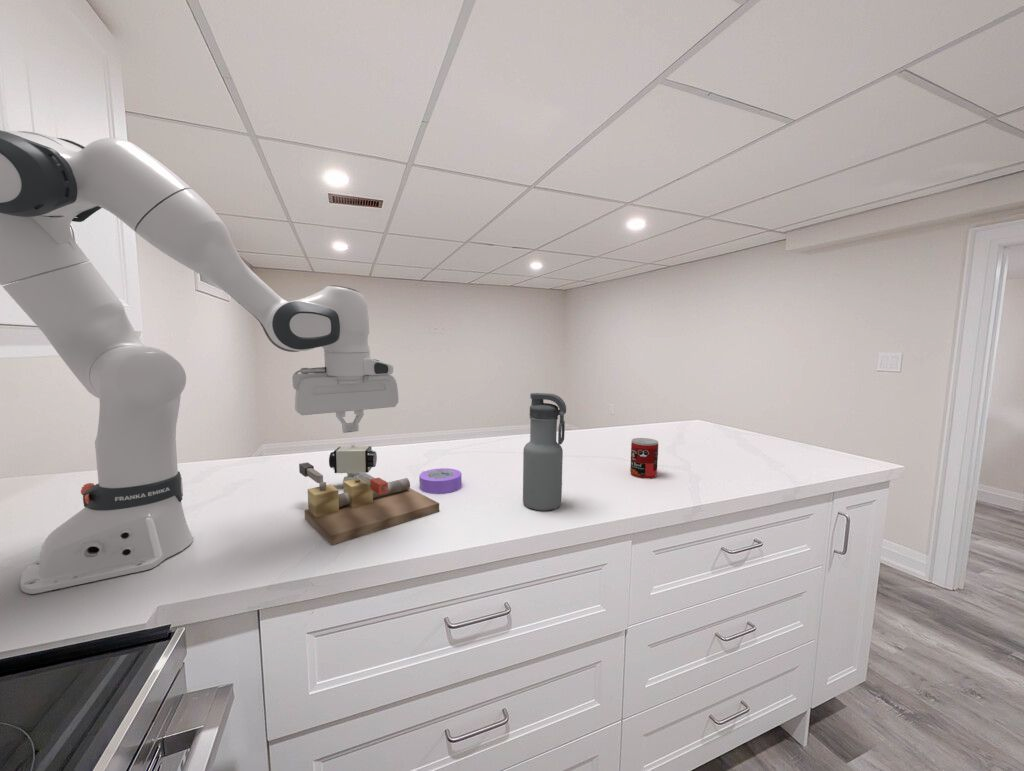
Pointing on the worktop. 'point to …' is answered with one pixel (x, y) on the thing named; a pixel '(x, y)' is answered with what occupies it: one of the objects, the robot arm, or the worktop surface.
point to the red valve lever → (373, 482)
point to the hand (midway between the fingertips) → (350, 431)
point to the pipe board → (361, 507)
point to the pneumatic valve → (352, 460)
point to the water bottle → (544, 454)
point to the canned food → (644, 457)
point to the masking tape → (440, 481)
